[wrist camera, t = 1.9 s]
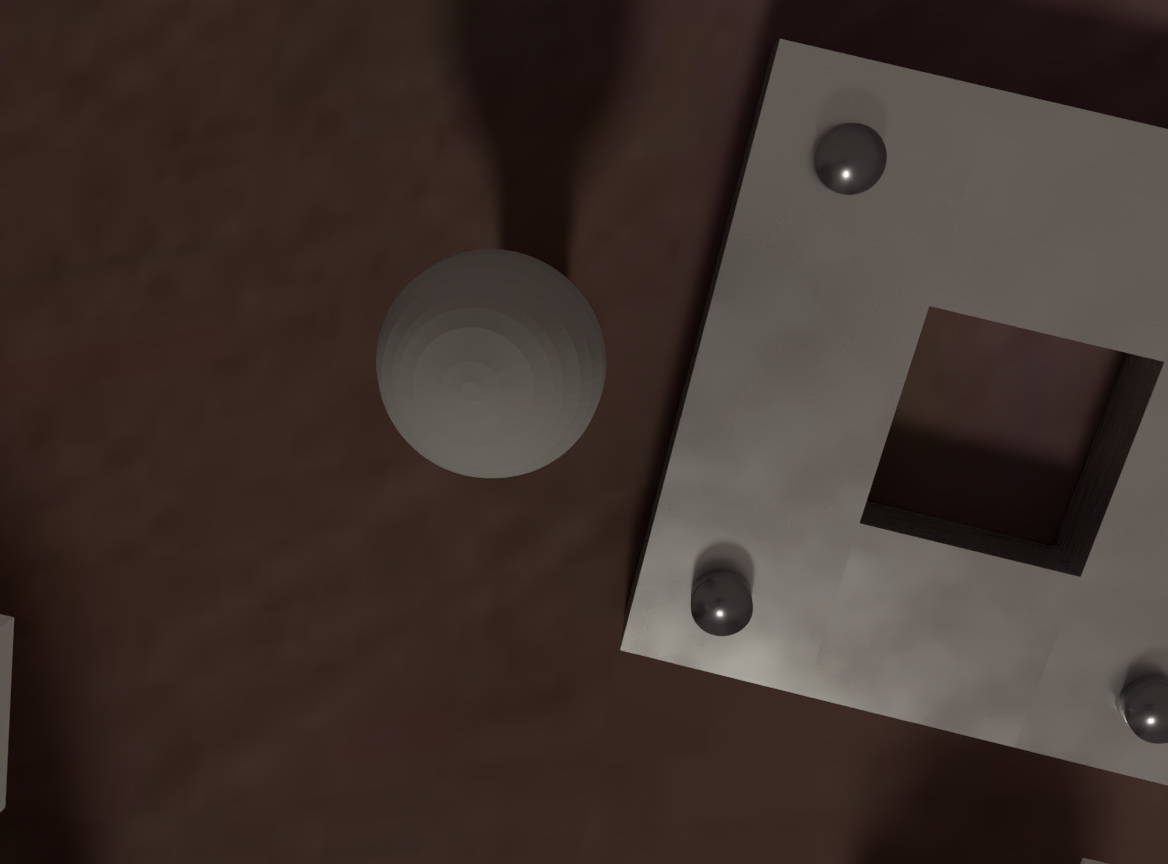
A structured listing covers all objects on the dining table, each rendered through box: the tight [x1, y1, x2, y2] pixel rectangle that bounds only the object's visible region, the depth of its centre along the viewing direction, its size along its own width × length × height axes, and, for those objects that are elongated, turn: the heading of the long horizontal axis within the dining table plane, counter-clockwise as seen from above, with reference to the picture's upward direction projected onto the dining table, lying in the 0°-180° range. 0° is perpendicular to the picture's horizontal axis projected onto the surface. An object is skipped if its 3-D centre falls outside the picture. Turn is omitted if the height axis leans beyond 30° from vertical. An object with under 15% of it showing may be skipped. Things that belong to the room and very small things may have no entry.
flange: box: [620, 39, 1168, 785], centre depth 31 cm, size 18×18×3 cm
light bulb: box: [376, 249, 606, 478], centre depth 28 cm, size 6×6×10 cm
